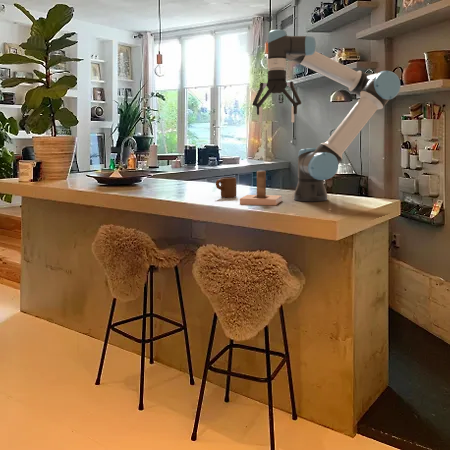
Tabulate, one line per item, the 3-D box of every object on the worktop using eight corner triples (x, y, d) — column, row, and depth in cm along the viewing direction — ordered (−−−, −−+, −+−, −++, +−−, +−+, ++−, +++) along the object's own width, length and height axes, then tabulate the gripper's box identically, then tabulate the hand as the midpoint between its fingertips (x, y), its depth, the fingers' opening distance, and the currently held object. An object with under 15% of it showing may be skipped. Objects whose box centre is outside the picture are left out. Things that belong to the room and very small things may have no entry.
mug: (222, 199, 248) (221, 179, 247) (211, 198, 254) (210, 178, 252) (239, 196, 257) (239, 177, 255) (228, 195, 262) (228, 176, 260)
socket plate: (247, 200, 244) (247, 194, 244) (281, 201, 240) (281, 195, 239) (239, 204, 231) (239, 198, 230) (275, 205, 226) (275, 199, 226)
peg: (257, 201, 238) (257, 170, 235) (266, 202, 236) (266, 170, 234) (255, 203, 234) (255, 171, 231) (264, 203, 233) (264, 171, 230)
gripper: (245, 70, 217) (245, 123, 221) (306, 67, 210) (305, 122, 214) (249, 72, 224) (249, 123, 228) (308, 69, 217) (307, 122, 221)
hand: (276, 122), depth 221 cm, fingers open, 13 cm apart
